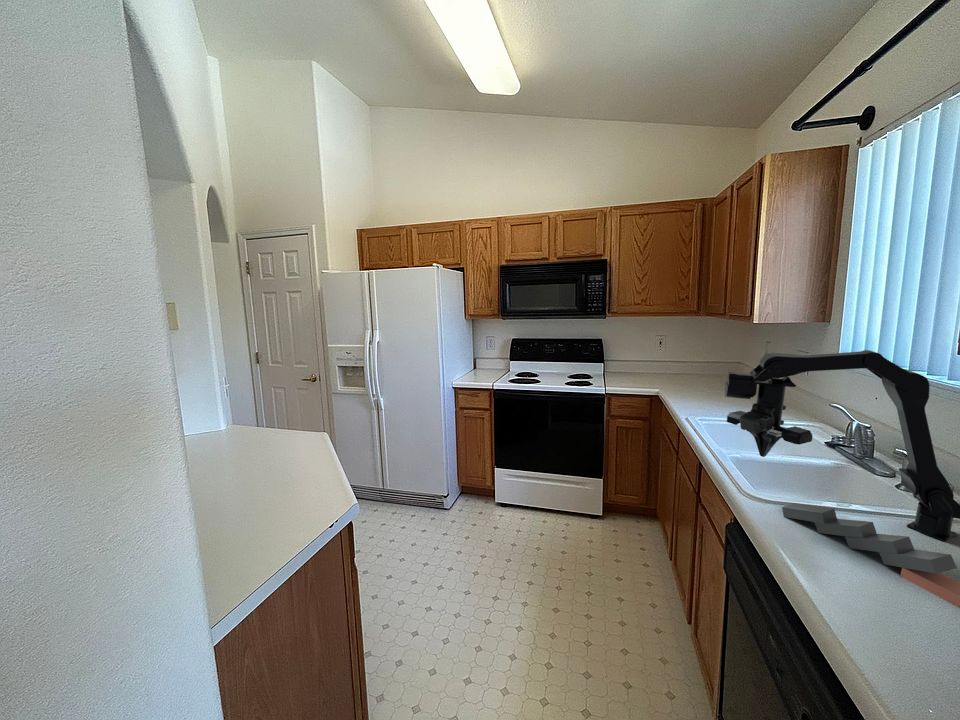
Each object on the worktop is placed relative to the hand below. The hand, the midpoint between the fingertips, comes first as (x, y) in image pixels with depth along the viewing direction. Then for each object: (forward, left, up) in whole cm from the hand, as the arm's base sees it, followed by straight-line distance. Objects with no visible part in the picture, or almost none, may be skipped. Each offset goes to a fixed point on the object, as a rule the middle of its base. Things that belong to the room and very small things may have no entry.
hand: (762, 456), depth 107 cm
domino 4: (+1, +28, -11) cm, 30 cm away
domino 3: (0, +22, -11) cm, 25 cm away
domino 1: (0, +8, -11) cm, 14 cm away
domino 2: (0, +15, -12) cm, 19 cm away
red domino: (+2, +31, -12) cm, 33 cm away
